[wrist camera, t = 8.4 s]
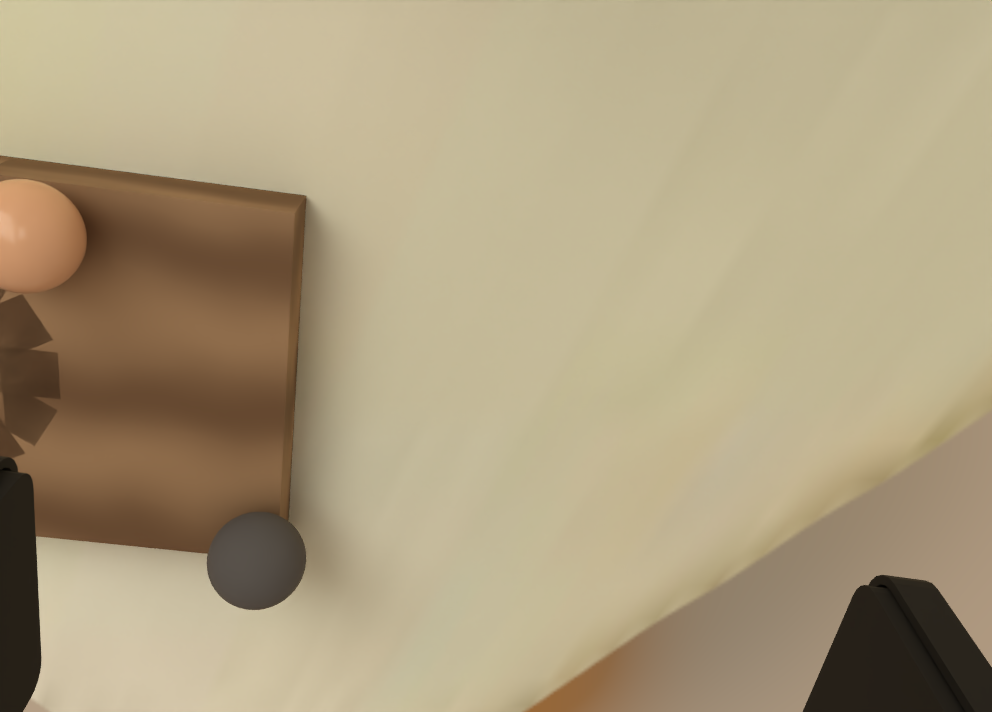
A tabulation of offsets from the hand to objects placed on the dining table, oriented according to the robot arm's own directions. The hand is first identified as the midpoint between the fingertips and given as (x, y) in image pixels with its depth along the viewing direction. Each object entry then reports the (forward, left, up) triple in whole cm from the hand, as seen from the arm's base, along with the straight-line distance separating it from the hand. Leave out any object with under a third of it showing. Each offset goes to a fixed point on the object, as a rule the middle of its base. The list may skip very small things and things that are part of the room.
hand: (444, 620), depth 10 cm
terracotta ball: (+5, -15, -23) cm, 28 cm away
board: (+11, -16, -28) cm, 34 cm away
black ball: (+18, -7, -23) cm, 30 cm away
